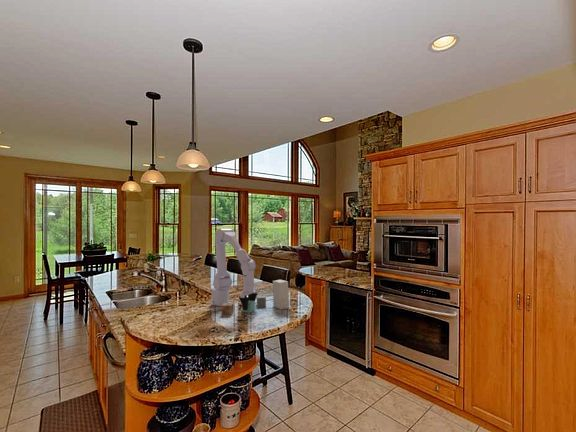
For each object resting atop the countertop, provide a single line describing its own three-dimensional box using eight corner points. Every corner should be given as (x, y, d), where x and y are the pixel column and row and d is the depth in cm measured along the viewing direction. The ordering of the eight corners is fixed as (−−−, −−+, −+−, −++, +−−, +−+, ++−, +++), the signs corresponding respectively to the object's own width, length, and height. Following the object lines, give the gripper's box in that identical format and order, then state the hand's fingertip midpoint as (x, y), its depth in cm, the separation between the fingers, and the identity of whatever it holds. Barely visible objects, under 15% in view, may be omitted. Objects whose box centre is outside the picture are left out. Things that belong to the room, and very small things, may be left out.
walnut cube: (221, 315, 154) (221, 305, 154) (224, 312, 159) (224, 302, 159) (231, 315, 153) (231, 305, 153) (233, 312, 158) (233, 302, 158)
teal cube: (242, 311, 159) (242, 302, 159) (246, 309, 164) (246, 300, 164) (250, 312, 158) (250, 303, 158) (254, 310, 162) (254, 300, 162)
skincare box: (289, 308, 166) (289, 281, 166) (280, 310, 162) (280, 282, 162) (281, 304, 173) (281, 278, 173) (272, 306, 169) (272, 280, 169)
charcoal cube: (256, 306, 169) (256, 297, 169) (257, 304, 174) (257, 295, 174) (265, 306, 169) (265, 297, 169) (265, 304, 174) (265, 295, 174)
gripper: (248, 286, 153) (248, 312, 153) (261, 280, 167) (261, 305, 166) (236, 285, 155) (236, 311, 155) (249, 279, 169) (249, 304, 169)
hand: (248, 308), depth 161 cm, fingers open, 7 cm apart
